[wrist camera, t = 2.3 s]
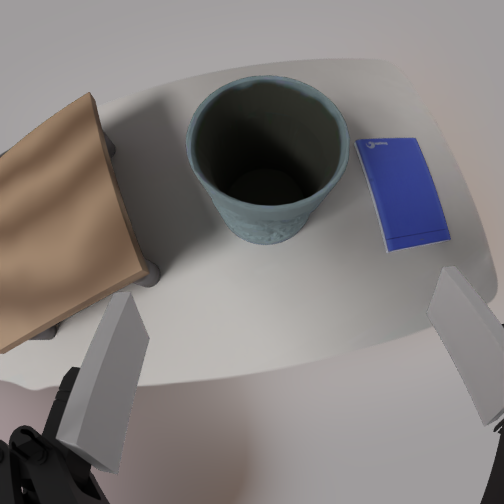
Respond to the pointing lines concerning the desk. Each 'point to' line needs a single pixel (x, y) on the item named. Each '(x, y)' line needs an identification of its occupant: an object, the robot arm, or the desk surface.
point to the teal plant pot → (267, 154)
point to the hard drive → (402, 193)
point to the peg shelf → (62, 226)
